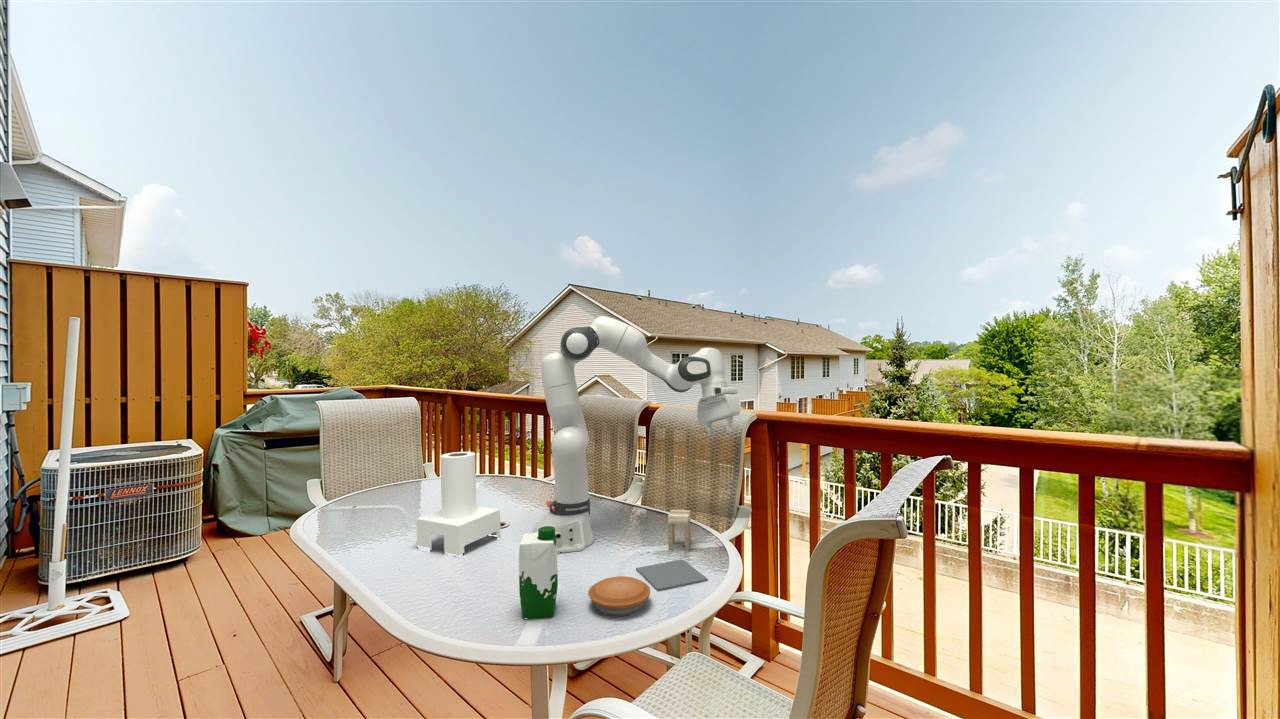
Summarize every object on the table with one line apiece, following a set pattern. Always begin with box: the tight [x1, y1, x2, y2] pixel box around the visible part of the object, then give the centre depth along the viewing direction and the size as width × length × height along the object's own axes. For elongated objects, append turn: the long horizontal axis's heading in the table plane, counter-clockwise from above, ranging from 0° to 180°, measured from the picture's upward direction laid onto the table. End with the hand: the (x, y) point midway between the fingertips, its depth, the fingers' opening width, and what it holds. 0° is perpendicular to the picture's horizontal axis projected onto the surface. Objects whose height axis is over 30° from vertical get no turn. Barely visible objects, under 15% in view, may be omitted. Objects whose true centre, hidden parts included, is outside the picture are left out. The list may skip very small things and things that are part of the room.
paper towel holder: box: [416, 451, 502, 555], centre depth 172 cm, size 19×19×30 cm
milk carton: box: [518, 526, 559, 619], centre depth 124 cm, size 9×9×20 cm
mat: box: [635, 559, 709, 592], centre depth 144 cm, size 15×15×1 cm
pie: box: [587, 575, 651, 617], centre depth 127 cm, size 16×16×5 cm
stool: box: [667, 509, 692, 552], centre depth 165 cm, size 6×6×11 cm
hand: (720, 433), depth 174 cm, fingers open, 8 cm apart
